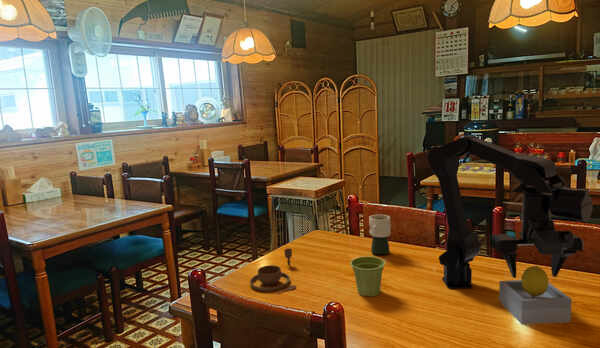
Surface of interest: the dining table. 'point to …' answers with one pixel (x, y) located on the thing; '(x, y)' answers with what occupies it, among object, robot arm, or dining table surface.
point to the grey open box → (535, 304)
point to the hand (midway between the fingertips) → (534, 276)
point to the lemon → (534, 281)
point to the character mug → (379, 233)
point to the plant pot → (368, 274)
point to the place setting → (272, 276)
